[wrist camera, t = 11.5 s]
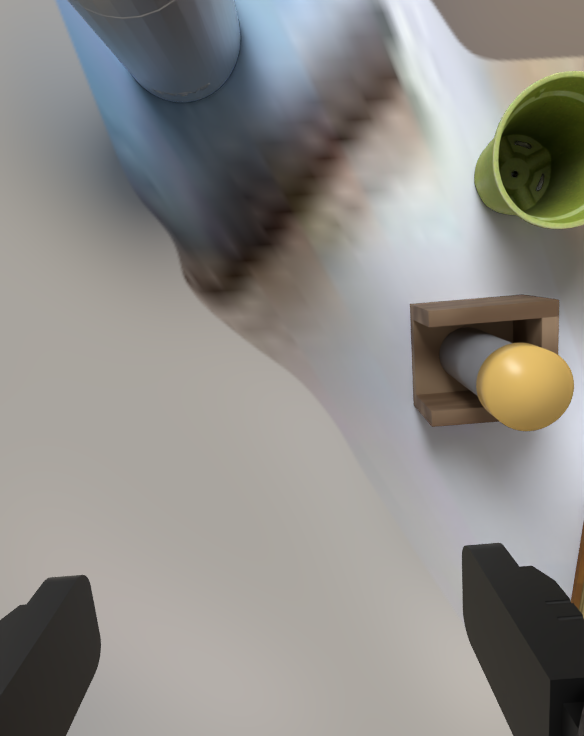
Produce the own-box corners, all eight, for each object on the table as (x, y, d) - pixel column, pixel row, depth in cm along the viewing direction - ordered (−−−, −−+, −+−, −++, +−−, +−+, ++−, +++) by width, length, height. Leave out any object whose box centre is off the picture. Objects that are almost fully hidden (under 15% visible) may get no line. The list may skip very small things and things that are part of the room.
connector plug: (433, 325, 42) (487, 352, 31) (496, 319, 42) (575, 344, 31) (435, 386, 43) (488, 434, 32) (497, 380, 43) (572, 427, 32)
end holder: (410, 304, 43) (428, 310, 37) (522, 294, 43) (559, 299, 37) (413, 405, 45) (432, 426, 39) (522, 396, 45) (556, 416, 39)
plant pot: (437, 220, 42) (474, 209, 33) (471, 97, 40) (520, 53, 31) (547, 247, 42) (611, 243, 34) (586, 127, 40) (664, 91, 32)
